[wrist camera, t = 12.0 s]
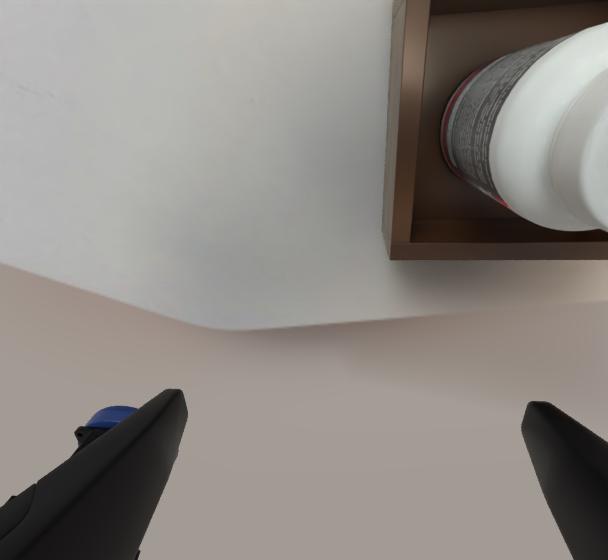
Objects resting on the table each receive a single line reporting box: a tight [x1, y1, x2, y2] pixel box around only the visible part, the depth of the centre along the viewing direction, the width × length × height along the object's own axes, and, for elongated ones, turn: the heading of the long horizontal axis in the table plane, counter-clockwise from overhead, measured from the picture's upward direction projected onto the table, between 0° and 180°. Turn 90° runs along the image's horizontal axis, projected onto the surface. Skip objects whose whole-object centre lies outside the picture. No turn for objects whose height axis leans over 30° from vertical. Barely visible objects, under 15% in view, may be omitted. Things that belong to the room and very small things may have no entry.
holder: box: [382, 0, 608, 260], centre depth 14 cm, size 10×10×4 cm
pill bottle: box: [440, 22, 608, 232], centre depth 11 cm, size 5×5×10 cm
